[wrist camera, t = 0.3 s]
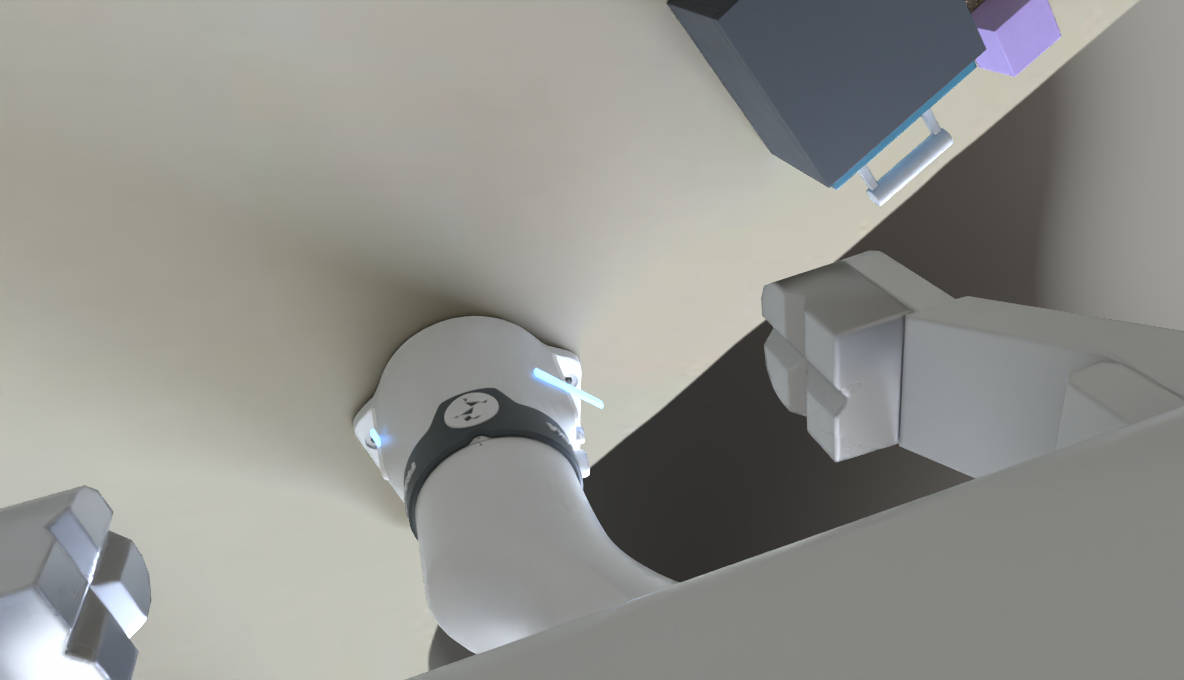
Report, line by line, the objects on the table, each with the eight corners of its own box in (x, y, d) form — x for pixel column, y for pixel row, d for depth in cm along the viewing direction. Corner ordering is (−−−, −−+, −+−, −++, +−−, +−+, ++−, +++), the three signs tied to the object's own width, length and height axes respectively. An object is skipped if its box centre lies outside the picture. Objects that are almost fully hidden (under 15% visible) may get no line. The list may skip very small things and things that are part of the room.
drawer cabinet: (909, 30, 61) (987, 49, 53) (771, 154, 62) (829, 188, 55) (820, -144, 53) (897, -149, 46) (666, 3, 55) (717, 20, 48)
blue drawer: (945, 106, 64) (1006, 128, 58) (824, 212, 65) (872, 243, 60) (836, -106, 53) (896, -106, 48) (696, 25, 55) (738, 41, 49)
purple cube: (1023, 28, 63) (1062, 36, 60) (978, 67, 64) (1014, 77, 61) (1004, -18, 61) (1043, -12, 58) (958, 23, 62) (994, 31, 58)
